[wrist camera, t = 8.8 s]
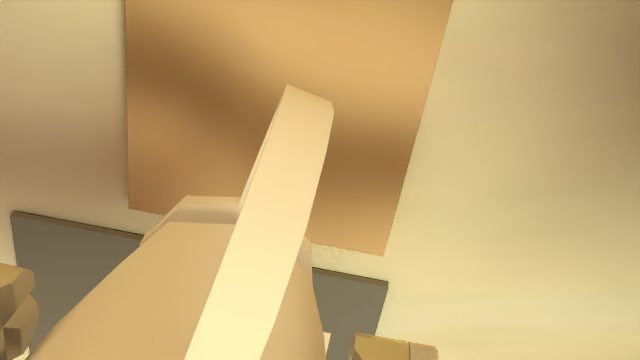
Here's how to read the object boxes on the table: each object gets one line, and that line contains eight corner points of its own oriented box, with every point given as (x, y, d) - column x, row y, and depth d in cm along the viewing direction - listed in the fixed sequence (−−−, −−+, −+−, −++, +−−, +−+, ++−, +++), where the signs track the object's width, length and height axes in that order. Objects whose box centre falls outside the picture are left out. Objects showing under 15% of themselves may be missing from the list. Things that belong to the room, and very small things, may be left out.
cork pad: (131, -67, 17) (123, -64, 16) (452, -7, 16) (453, -3, 16) (133, 200, 21) (128, 208, 21) (383, 247, 21) (383, 256, 21)
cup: (69, 314, 16) (-163, 680, 9) (153, -47, 11) (-217, 168, 4) (311, 396, 17) (263, 788, 10) (490, 95, 12) (640, 466, 5)
